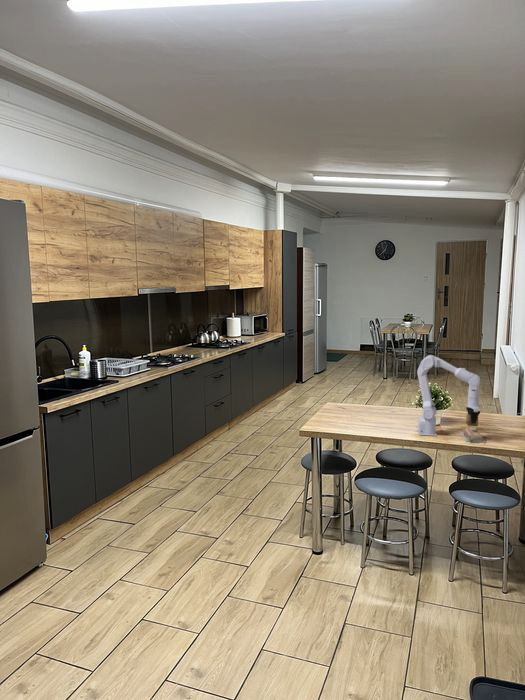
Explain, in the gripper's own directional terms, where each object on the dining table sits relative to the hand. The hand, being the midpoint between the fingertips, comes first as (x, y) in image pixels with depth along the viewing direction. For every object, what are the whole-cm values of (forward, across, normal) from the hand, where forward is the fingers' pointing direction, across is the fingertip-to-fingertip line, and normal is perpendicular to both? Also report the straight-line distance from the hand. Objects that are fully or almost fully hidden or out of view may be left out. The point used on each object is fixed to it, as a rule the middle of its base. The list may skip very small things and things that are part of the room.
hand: (472, 421), depth 295 cm
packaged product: (+10, +1, -1) cm, 10 cm away
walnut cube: (+2, 0, 0) cm, 2 cm away
